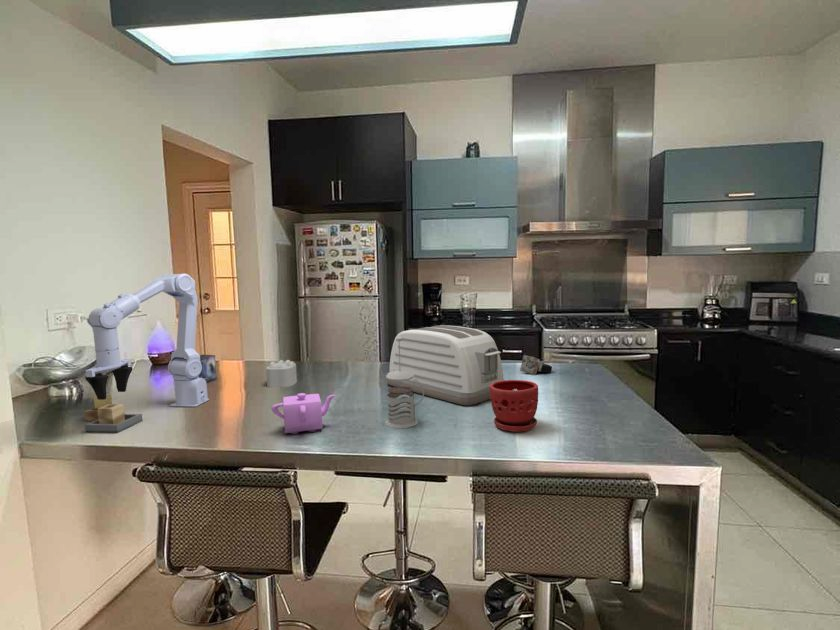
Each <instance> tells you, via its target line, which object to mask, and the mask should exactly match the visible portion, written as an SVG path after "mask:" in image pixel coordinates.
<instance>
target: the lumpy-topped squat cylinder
mask: <svg viewBox="0 0 840 630" xmlns="http://www.w3.org/2000/svg"><path fill="white" fill-rule="evenodd" d="M265 372H266V387H268V388H288V387H292V386H294V385H296V384H297V382H298V379H297V378H298V377H297V376H298V375H297V364H296V363H295V361H291V360H290V359H286V360H283V359H281V360H278V361H277V362H275V361H270V363H269V364H268V366H266V368H265Z"/></svg>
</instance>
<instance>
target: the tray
mask: <svg viewBox="0 0 840 630" xmlns="http://www.w3.org/2000/svg"><path fill="white" fill-rule="evenodd" d="M124 415H125V421H122V422H120V423H118V424H99V419H98V420H95V421H90V422H89V423H85V424H84V431H85V433H99V434H100V433H101V434H103V433H104V434H119V433H120V432H123V431H125V430H128V429H129V428H131V427H134V426H136V425H137V423H138V424H139V422H140V423H141V421H142V422H143V421H144V420H143V419H144V418H143V414H142V413H124ZM135 424H136V425H135Z"/></svg>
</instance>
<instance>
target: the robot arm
mask: <svg viewBox="0 0 840 630" xmlns="http://www.w3.org/2000/svg"><path fill="white" fill-rule="evenodd" d="M161 293H165V294H167V295H169V296H170V297H172V298H174V299H175V301H176V302H178V319H177V320H178V321H177V336H176V337H177V338H176V339H177V340H176V349H175V350H174V351H173V352H172V353H171V355H170V360H169V363H168V364H167V370H168V373H169V374H170V375H171V376H172V379H173V384H174V394H175V402H173V403H171V404H169V406H170V407H193V408H194V407H198V406H200V405H202V404H204V403H206V402H208V401H210V398H208V397H209V395H208V387H207V386H208V383H206V381H205V379H203V378H199V374H200V373H201V370H202V365H201V362H200V355H201V354H199V353H198V352H197V350H196V349H195V348H196V334H197V333H196V331H197V317H198V316H197V315H198V301H199V300H198V294H197V292H196V281H195V279H194V278H192V276H190V275H189V274H188V273H175V274H174V273H172V274H171V273H163V274H161V276H157V277H155V279H154V280H152V281H151V282H149V283H148V284H146V285H145V286H143V287H141V288H140V289H139V290H137V291H136V292H134V293H132V294H129V293H125V294H123V293H121V294H118V295H117V298H116V299H114V300H112V301H111V302H106V303H104V304H103V306H102V307H98V308H97V307H96V308H94V309H93V310H92V311H90V313H89V315H88V318H86V322H87V324H88V325H89V326H90V327H91V328H92V332H93V339H94V340H93V341H94V342H93V343H94V349H95V359H96V364H94V366H92V367H91V368H88V369H85V377H84V378H85V381H86V382H87V383H88V384H89V385H90V386H91V388H92V390H93V392H94V395H95V396H97V399H98V400H104V399H106V394H107V383H108V379H109V377H110V376H109V375H104V374H105V373H108V372H111V373H112V375H113V377H114V380H115V386H116V390H117V392H118V393H124V392H125V393H126V391H127V386H128V381H129V378H130V375H131V373H132V372H133V367H132V366H131V365H132V362H131V359H130V358H124V359H121V355H120V345H119V334H118V326H120V324H121V321H122V320H124V319H125V318H126V317H129V316H130V315H131V314H133V313H135V312H136V311H138V310H139V309H140V305H141V304H142V303H143V302H146V301H147V300H149V299H151V298H153V297H155V296H157V295H159V294H161Z"/></svg>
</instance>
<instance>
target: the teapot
mask: <svg viewBox="0 0 840 630" xmlns="http://www.w3.org/2000/svg"><path fill="white" fill-rule="evenodd" d="M336 396H337V394H330V395H329V396H327V397H326V399H325V402H324V405H323V406H322V400H321V397H320V394H319V393H311V394H310V393H309V394H306V393H305V392H301V393H297V394H296V395H290V396H283V397H282V400H283V401H282V402H280V403H276V404H275V403H274V405H272V406H271V408H270V409H271V411H272V412H273V414H274V415H276V416H277V417H279V418H281V419H282V420H283V423H284V424H283V425H284V426H283V427H284V434H289V433H290V434H292V435H296V434H299V433H300V432H310V433H311V432H312V433H313V432H316V431H317V430H323V417H325V416H326V414H327V413H328V410H329V408H330V407H329V406H330V403H331V402H332V399H333V398H334V397H336ZM279 407H282V408H283V413H281V412H280V411H279Z"/></svg>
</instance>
